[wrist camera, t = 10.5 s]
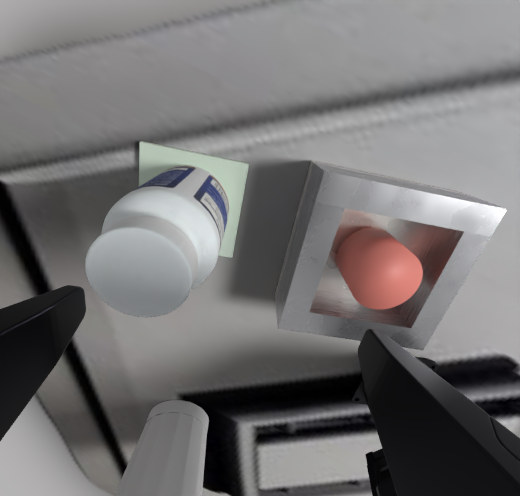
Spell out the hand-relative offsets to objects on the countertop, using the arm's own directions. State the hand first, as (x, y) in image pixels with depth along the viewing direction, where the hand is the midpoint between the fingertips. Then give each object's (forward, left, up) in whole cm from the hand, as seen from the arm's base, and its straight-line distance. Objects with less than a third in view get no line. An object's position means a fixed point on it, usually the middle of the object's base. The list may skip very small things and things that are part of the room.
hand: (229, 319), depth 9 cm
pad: (0, +4, -12) cm, 13 cm away
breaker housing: (-1, -9, -12) cm, 15 cm away
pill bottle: (0, +4, -12) cm, 13 cm away
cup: (-24, +3, -12) cm, 28 cm away
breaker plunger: (-1, -9, -11) cm, 14 cm away
